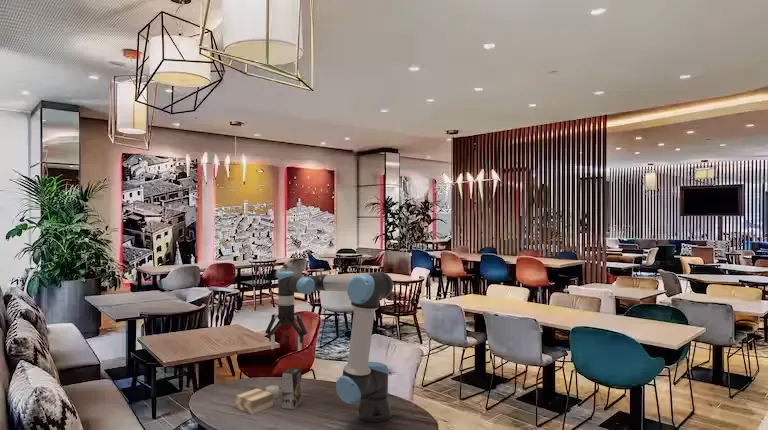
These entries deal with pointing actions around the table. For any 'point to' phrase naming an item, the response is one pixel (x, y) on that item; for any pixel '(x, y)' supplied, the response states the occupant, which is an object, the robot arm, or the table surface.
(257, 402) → the maple block
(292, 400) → the coffee box
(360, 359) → the robot arm
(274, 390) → the white rounded dome
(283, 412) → the table surface
